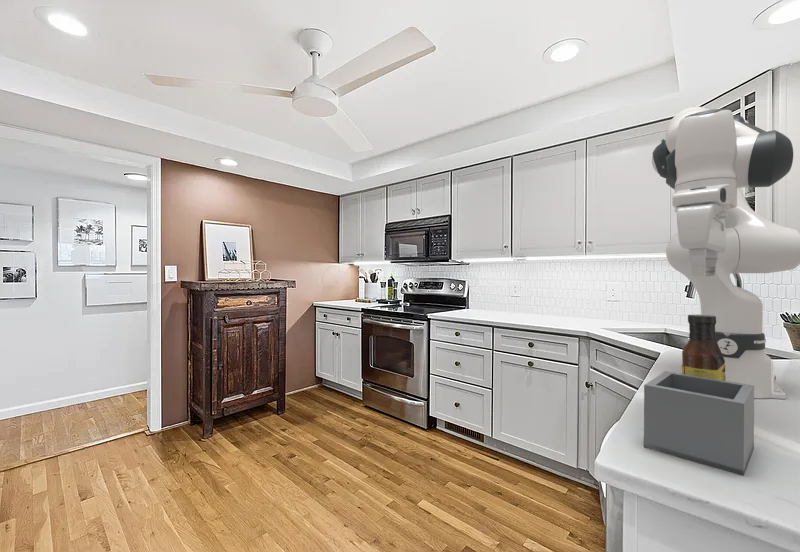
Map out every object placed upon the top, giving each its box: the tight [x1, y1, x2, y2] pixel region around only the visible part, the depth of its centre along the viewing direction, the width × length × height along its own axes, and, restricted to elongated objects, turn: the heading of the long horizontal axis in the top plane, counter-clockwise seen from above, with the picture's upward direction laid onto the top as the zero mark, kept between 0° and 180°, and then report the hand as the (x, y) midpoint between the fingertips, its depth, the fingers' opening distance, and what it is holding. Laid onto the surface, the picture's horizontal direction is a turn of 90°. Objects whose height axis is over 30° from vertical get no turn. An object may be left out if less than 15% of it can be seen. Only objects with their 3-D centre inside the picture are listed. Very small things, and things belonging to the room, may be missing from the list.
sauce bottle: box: [681, 314, 726, 381], centre depth 69 cm, size 7×6×20 cm
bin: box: [643, 370, 755, 477], centre depth 59 cm, size 12×12×10 cm
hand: (704, 276), depth 69 cm, fingers open, 8 cm apart
